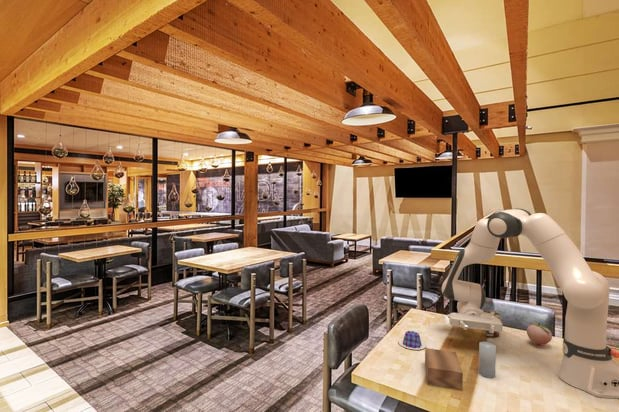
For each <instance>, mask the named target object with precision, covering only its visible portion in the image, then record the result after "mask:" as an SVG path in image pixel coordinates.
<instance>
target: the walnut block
mask: <svg viewBox="0 0 619 412" xmlns="http://www.w3.org/2000/svg"><path fill="white" fill-rule="evenodd" d="M424 350H425V351H424V352H425V353H424V354H425V355H424V365H425V372H426V373H425V374H426V380H427V385H430V386H435V387H442V388H447V389H448V388H449V389H452V388H453V390H460V391H463V385H464V384H463V381H464V379H463V377H464V374H463V373H464V372H463V369H462V366H461V364H460V360H459V359H458V358H459V357H458V355H457V352H456V351H452V350H451V351H450V350H449V351H448V350H443V349H436V348H430V347H425V348H424Z"/></svg>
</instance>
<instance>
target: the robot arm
mask: <svg viewBox="0 0 619 412" xmlns="http://www.w3.org/2000/svg"><path fill="white" fill-rule="evenodd" d="M519 236H524V237H526V238H527V239H528V240H529V241H530V243H531V244H532V246H533V247H534V249H536V251H537V253H538V254H539V255H540V257H541V258H542V260H544V262H545V263H546V265H547V267H548V268H549V270H550V272H551V274H552V275H553V277H554V279H555V281H556V284H557V285H558V286H559V288H560V290H561V292H562V294H563V296H564V298H565V299H566V301H567V306H566V312H565V313H566V314H565V322H564V324H565V325H564V337H562V338H563V339H562V354H563V355H562V360H561V365H560V368H559V370H558V372H557V375H558V377H559V378H560V379H561V380H562V381H563V382H565V383H566V384H569V385H570V386H572V387H574V388H576V389H579V390H581V391H584V392H587V393H588V394H590V395H592V396H594V397H598V398H605V399H619V362H618V361H616V359H619V352H618V351H616V350H614V349H612V348H611V347H609V346H608V345H607V332H608V331H607V327H608V325H607V324H608V317H609V316H608V315H609V305H610V303H609V302H610V287H611V286H610V284H609V281H608V280H607V279H606V277H605V276H604V275H602V274H601V273H599V272H597V271H594V270H591V268H590V266H589V264H588V263H587V261H586V260H585V258H584V256H583V255H582V252H581V251H580V249H579V248H578V247H577V246H576V244H575V243H574V242H573V241H572V240H571V238H570V237H569V236H568V235H567V233H566V231H564V229H563V228H562V227H561V226H560V225H559V224H558V222H556V221H555V220H554V219H553V218H552V217H551V216H549V215H548V214H547V213H544V212H537V213H532V214H531V212H530V211H528V210H526V209H524V208H519V207H517V208H513V209H505V210H501V211H498V212H496V213H493V214H492V215H491V216H490V217H489V218H482V219H479V220H478V221H477V222H476V223H475V226H474V229H473V231H472V234H471V237H470V241H469V242H468V244H467V246H465V247H464V248H463V249H460V250H459V252H457V254H456V256H455V258H454V260H453V263H452V265H451V267H450V269H449V271H448V273H447V275H446V277H445V279H444V281H443V283H442V284H441V294H442V295H443V297H445V299H447V300H449V301H458V302H457V303H456V304H457V305H456V309H457V312H450V313H449V314H448V313H447V318H448V319H449V325H450V326H452V327H459V328H462V329H463V330H466V331H468V330H469V329H473V330H475V329H476V330H481V331H483V330H484V331H486V330H488V331H489V333H494V331H496V332H499V333H501V332H503V329H504V328H503V322H502V321H500V320H499V319H498V318H497V317H495V316H494V313H492V312H488V310H483V307H484V306H485V303H486V298H487V297H486V295H487V294H486V291H485V289H484V287H483V286H482V285H481V283H478V282H477V283H475V282H471V281H464V280H461V279H459V277H460V275H461V273H462V270H463V269H464V268H465V267H466V266H469V265H473V264H481V263H486V262H489V261H491V260H492V259H494V258H495V256H496V254H497V251H498V248H499V244H500V242H501V239H510V238H513V237H519Z"/></svg>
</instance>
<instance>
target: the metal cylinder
mask: <svg viewBox="0 0 619 412" xmlns="http://www.w3.org/2000/svg"><path fill="white" fill-rule="evenodd" d="M496 361H497V345H495V344H494V343H492V342H489V341H479V345H478V374H479V375H480V376H482V377H484V378H487V379H495V378H496V367H497V366H496V364H497V363H496Z"/></svg>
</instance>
